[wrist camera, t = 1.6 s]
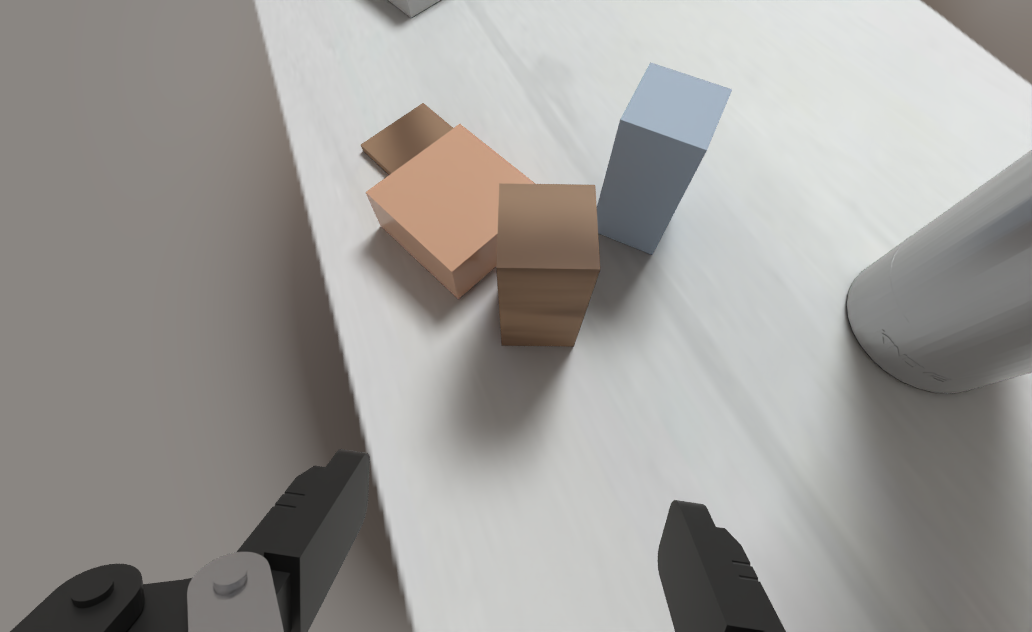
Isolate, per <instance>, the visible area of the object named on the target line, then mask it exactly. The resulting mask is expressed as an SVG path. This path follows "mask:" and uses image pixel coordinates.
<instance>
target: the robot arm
mask: <svg viewBox="0 0 1032 632" xmlns="http://www.w3.org/2000/svg"><path fill="white" fill-rule="evenodd" d="M847 310H848V318H849V321H850V324H851V327H852V330H853V332H854V334H855V336H856V338H857V340H858V341H859V343H860V345H861V346H862V348H863V349H864V350H865V351H866V352H867V354H868V355H869V356H870V357H871V359H872V360H874V361H875V362H876V363H877V364H878V365H879V366H880V367H881V368H883V369H884V370H885V371H886V372H888V373H889V374H891V375H892V376H894V377H895V378H897V379H899V380H900V381H902V382H904V383H907V384H909V385H911V386H913V387H916V388H918V389H922V390H926V391H930V392H934V393H950V394H951V393H957V392H964V391H968V390H972V389H975V388H979V387H982V386H986V385H989V384H993V383H996V382H1000V381H1003V380H1007V379H1010V378H1014V377H1017V376H1021V375H1024V374H1028V373H1032V150H1031V151H1029V152H1028V153H1027V154H1025V155H1024V156H1022V157H1021V158H1020V159H1018V160H1017V161H1015V162H1014V163H1013V164H1011V165H1010V166H1008V167H1007V168H1006V169H1004V170H1003V171H1001V172H1000V173H999V174H997V175H996V176H994V177H993V178H992V179H990V180H989V181H987V182H986V183H985V184H983V185H982V186H980V187H979V188H978V189H976V190H975V191H973V192H972V193H971V194H969V195H968V196H966V197H965V198H964V199H962V200H961V201H960V202H958V203H957V204H955V205H954V206H953V207H951V208H950V209H948V210H947V211H946V212H944V213H943V214H941V215H940V216H939V217H937V218H936V219H934V220H933V221H932V222H930V223H929V224H927V225H926V226H925V227H923V228H922V229H920V230H919V231H918V232H916V233H915V234H913V235H912V236H910V237H909V238H907V239H906V240H905V241H903V242H902V243H900V244H899V245H898V246H896V247H895V248H894V249H892V250H891V251H889V252H888V253H887V254H885V255H884V256H882V257H881V258H880V259H878V260H877V261H875V262H874V263H873V264H871V265H870V266H869V267H867V268H866V269H864V270H863V271H862V272H861V273H860V274H859V275H858V276H857V277H856V278H855V280H854V281H853V283H852V285H851V288H850V290H849V293H848V300H847ZM369 466H370V457H369V454H368V453H362V452H355V451H349V450H343V449H340V450H338V451H337V452H336V454H335V455H334V456H333V458H332V459H331V461H330V462H329V463H328V465H327V466H326V467H320V466H313V467H312V468H310V469H309V470H307V471H306V472H304V473H303V474H301V475H299V476H298V477H296V478H295V480H294V481H293V482H292V483H291V485H290V486H289V487H288V489H287V490H286V491H285V494H283V495H282V496H281V497H280V498H279V500H278V501H277V502H276V504H275V507H272V508H271V510H270V511H269V512H268V513H267V515H266V516H265V517H264V518H263V520H262V521H261V522H260V523H259V525H258V526H257V527H256V528H255V530H254V531H253V532H252V533H251V535H250V536H249V537H248V538H247V540H246V541H245V542H244V543H243V545H242V546H241V547H240V548H239V550H238V551H237V552H235V553H231V554H227V555H224V556H221V557H219V558H217V559H215V560H213V561H211V562H209V563H208V564H206V565H205V566H204V567H202V568H201V569H200V570H199V571H198V572H197V573H196V574H195V575H194V577H193V578H190V579H184V580H176V581H169V582H160V583H152V584H143V581H142V576H141V573H140V572H139V570H138V569H136V568H135V567H133V566H131V565H126V564H109V565H104V566H100V567H97V568H93V569H90V570H87V571H85V572H83V573H81V574H79V575H76V576H75V577H73V578H71V579H69V580H68V581H66V582H65V583H63V584H62V585H61V586H59V587H58V588H57V589H56V590H55V591H53V592H52V593H51V594H50V595H49V596H48V597H47V598H46V599H45V600H44V601H43V602H42V603H41V604H39V605H38V606H37V607H36V608H35V609H34V610H33V611H32V612H31V613H30V614H29V615H28V616H27V617H26V618H25V619H23V620H22V621H21V622H20V623H19V624H18V625H17V626H16V627H15V628H14V629H13V630H12V631H10V632H308V630H309V628H310V626H311V624H312V622H313V620H314V618H315V616H316V615H317V613H318V611H319V608H320V607H321V605H322V603H323V601H324V599H325V597H326V595H327V593H328V591H329V589H330V587H331V585H332V583H333V581H334V579H335V577H336V575H337V574H338V572H339V570H340V568H341V566H342V564H343V562H344V560H345V558H346V556H347V554H348V552H349V550H350V548H351V546H352V544H353V542H354V540H355V538H356V536H357V534H358V532H359V531H360V529H361V526H362V524H363V521H364V518H365V515H366V510H367V504H368V487H369ZM658 570H659V575H660V579H661V582H662V586H663V589H664V593H665V597H666V600H667V604H668V607H669V611H670V615H671V618H672V622H673V625H674V629H675V632H786V631H785V629H784V627H783V625H782V624H781V622H780V620H779V618H778V616H777V614H776V612H775V610H774V608H773V606H772V604H771V602H770V600H769V598H768V596H767V594H766V592H765V591H764V589H763V587H762V585H761V583H760V582H758V577H757V575H756V573H755V571H754V569H753V567H751V566H750V561H749V560H748V558H747V556H746V554H745V552H744V550H743V548H742V546H741V545H740V544H739V542H738V541H737V540H736V539H735V538H734V537H733V536H732V535H731V534H730V533H729V532H728V531H727V530H726V529H725V528H719V527H716V526H715V524H714V522H713V520H712V518H711V516H710V514H709V512H708V509H707V508H706V506H705V505H703V504H697V503H691V502H684V501H677V500H674V501H673V502H672V503H671V506H670V509H669V513H668V516H667V520H666V523H665V527H664V530H663V534H662V538H661V541H660V545H659V550H658Z"/></svg>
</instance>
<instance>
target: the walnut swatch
mask: <svg viewBox="0 0 1032 632" xmlns="http://www.w3.org/2000/svg"><path fill="white" fill-rule="evenodd" d="M452 129H453V127H451V126H450V125H449V124H448V123H447V122H445V121H444V120H443V119H442V118H441V117H439V116H438V115H437V114H436V113H435V112H433V111H432V110H431V109H430V108H429V107H427V106H426V105H425V104H424V103H422V104H421V105H419V106H418V107H416V108H415V109H413V110H412V111H410V112H409V113H407V114H406V115H404V116H403V117H401V118H400V119H398V120H397V121H395V122H394V123H392V124H391V125H389V126H388V127H386V128H385V129H383V130H382V131H380V132H379V133H377V134H376V135H374V136H373V137H371V138H370V139H368V140H367V141H366V142H364V143H363V144H361V147H362V149H363V151H364V152H365V153H366V154H367V155H368V156H369V157H370V158H371V159H373V160H374V161H375V162H376V163H377V164H378V165H379V166H380V167H381V168H382V169H383V170H384V171H385V172H387V173H388V174H389V175H390V174H391V173H393V172H394V171H396V170H397V169H398V168H400V167H401V166H402V165H404V164H405V163H407V162H408V161H409V160H411V159H412V158H413V157H415V156H416V155H418V154H419V153H420V152H422V151H423V150H424V149H426V148H427V147H429V146H430V145H431V144H433V143H434V142H435V141H437V140H438V139H440V138H441V137H442V136H444V135H445V134H446V133H448V132H449V131H451V130H452Z"/></svg>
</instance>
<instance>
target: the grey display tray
mask: <svg viewBox="0 0 1032 632" xmlns="http://www.w3.org/2000/svg"><path fill="white" fill-rule="evenodd" d="M388 1H390V2H391V3H392V4H394V5H395V6H396V7H398V8H399V9H400V10H402V11H403V12H404V13H405V14H407V15H408V16H409V17H411V18H412V17H413V16H415V15H417V14H418V13H420V12H422V11H423V10H425V9H427V8H428V7H430V6H432V5H433V4H435V3H437V2H438V1H440V0H388Z"/></svg>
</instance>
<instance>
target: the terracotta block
mask: <svg viewBox="0 0 1032 632" xmlns="http://www.w3.org/2000/svg"><path fill="white" fill-rule="evenodd" d="M499 183H500V184H535V183H534V182H533V181H531V180H530V179H529V178H528V177H526V176H525V175H524V174H523V173H521V172H520V171H519V170H518V169H516V168H515V167H514V166H512V165H511V164H510V163H509V162H507V161H506V160H505V159H504V158H502V157H501V156H500V155H499V154H497V153H496V152H495V151H494V150H492V149H491V148H490V147H489V146H487V145H486V144H485V143H483V142H482V141H481V140H480V139H478V138H477V137H476V136H475V135H473V134H472V133H471V132H470V131H468V130H467V129H466V128H465V127H463V126H462V125H461V124H459V125H457V126H456V127H455V128H453V129H452V130H451V131H449V132H448V133H446V134H445V135H444V136H442V137H441V138H440V139H438V140H437V141H435V142H434V143H433V144H431V145H430V146H429V147H427V148H426V149H424V150H423V151H422V152H420V153H419V154H418V155H416V156H415V157H413V158H412V159H411V160H409V161H408V162H407V163H405V164H404V165H402V166H401V167H400V168H398V169H397V170H396V171H394V172H393V173H391V174H390V175H389V176H387V177H386V178H385V179H383V180H382V181H381V182H379V183H378V184H376V185H375V186H374V187H372V188H371V189H370V190H368V191H367V192H366V194H367V197H368V199H369V201H370V203H371V206H372V208H373V210H374V212H375V214H376V217H377V219H378V221H379V223H380V226H381V227H382V228H383V229H384V230H385V231H386V232H387V233H389V234H390V235H391V236H392V237H393V238H394V239H395V240H396V241H397V242H398V243H399V244H400V245H401V246H402V247H403V248H404V249H405V250H407V251H408V252H409V253H410V254H411V255H412V256H413V257H414V258H415V259H416V260H417V261H418V262H419V263H420V264H421V265H422V266H424V267H425V268H426V269H427V270H428V271H429V272H430V273H431V274H432V275H433V276H434V277H435V278H436V279H437V280H438V281H439V282H441V283H442V284H443V285H444V286H445V287H446V288H447V289H448V290H449V291H450V292H451V293H452V294H453V295H454V296H455V297H456V298H458V299H459V298H461V297H462V296H463V295H464V294H465V293H466V292H467V291H469V290H470V289H471V288H472V287H473V286H474V285H476V284H477V283H478V282H479V281H480V280H481V279H482V278H484V277H485V276H486V275H487V274H488V273H489V272H490V271H492V270H493V269H494V268H495V267H496V265H497V236H498V208H499Z"/></svg>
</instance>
